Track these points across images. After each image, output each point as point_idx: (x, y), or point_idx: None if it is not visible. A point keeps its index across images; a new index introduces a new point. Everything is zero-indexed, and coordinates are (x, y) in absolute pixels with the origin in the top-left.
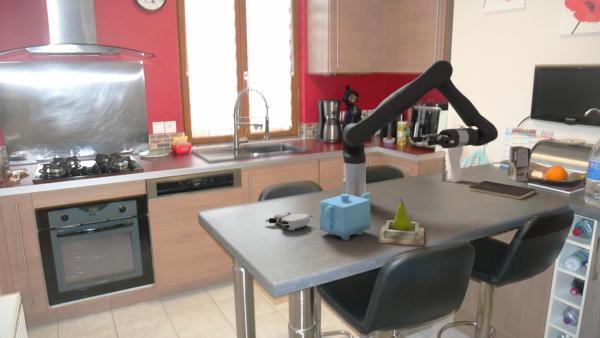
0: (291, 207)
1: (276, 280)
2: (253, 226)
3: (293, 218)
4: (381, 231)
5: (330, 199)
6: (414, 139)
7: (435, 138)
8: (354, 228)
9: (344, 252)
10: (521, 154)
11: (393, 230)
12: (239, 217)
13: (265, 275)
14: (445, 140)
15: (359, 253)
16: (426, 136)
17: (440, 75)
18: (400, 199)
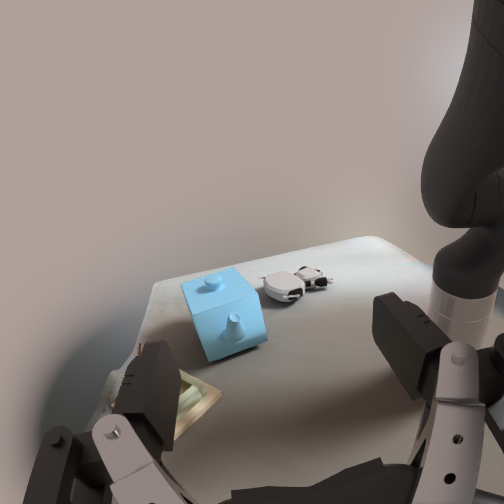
0: (394, 290)
1: (159, 282)
2: (308, 266)
3: (276, 278)
4: (192, 377)
5: (233, 275)
6: (376, 316)
7: (251, 493)
8: (196, 330)
9: (169, 326)
10: None
11: None
12: (348, 255)
13: (172, 278)
14: (46, 460)
15: (155, 337)
16: (431, 407)
17: None
18: (140, 346)
